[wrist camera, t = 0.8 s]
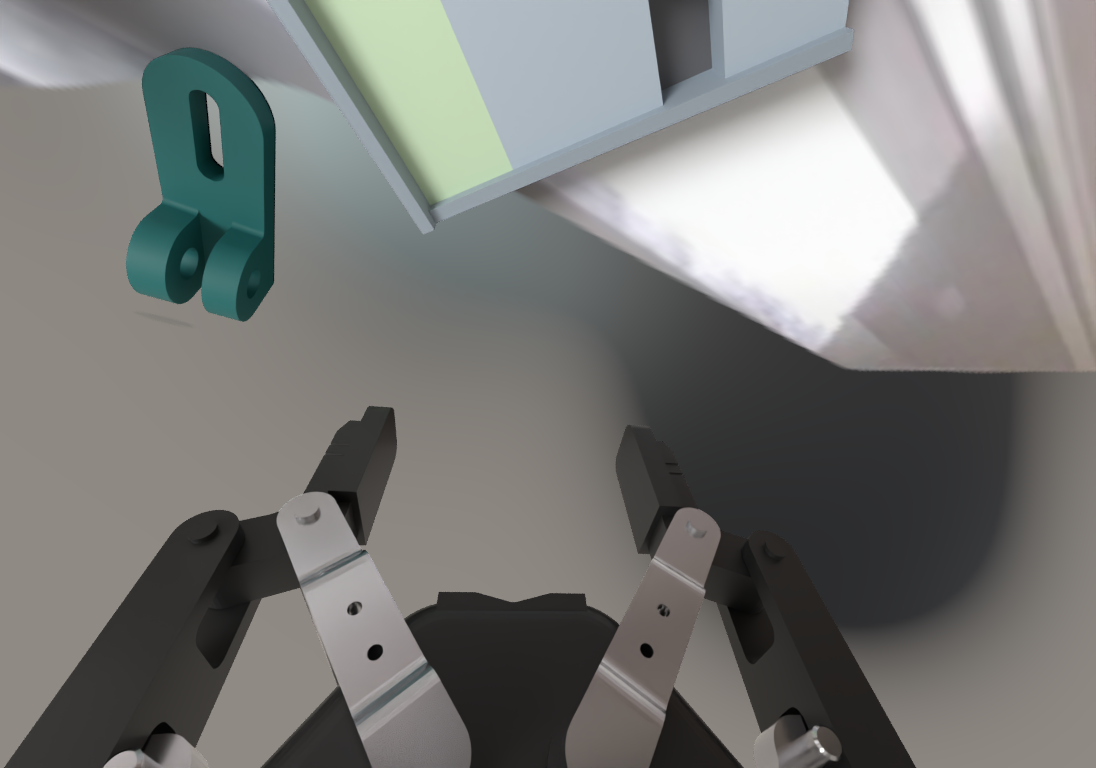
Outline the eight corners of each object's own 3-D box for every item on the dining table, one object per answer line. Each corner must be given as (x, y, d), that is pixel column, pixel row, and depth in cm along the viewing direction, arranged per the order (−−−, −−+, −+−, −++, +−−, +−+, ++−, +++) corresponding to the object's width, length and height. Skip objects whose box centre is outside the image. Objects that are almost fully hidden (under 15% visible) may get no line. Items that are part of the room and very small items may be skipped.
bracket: (274, 282, 40) (238, 337, 35) (190, 256, 37) (138, 311, 32) (276, 81, 28) (221, 119, 23) (153, 23, 26) (61, 51, 20)
